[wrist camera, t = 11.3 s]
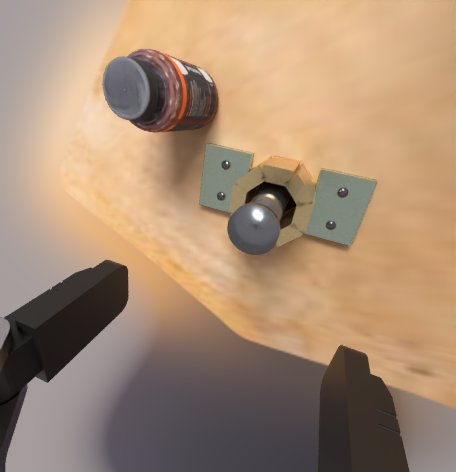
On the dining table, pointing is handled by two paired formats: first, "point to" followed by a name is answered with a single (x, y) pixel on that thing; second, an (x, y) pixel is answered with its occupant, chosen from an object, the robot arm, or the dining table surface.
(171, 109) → the supplement bottle
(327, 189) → the hinge body
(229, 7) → the dining table surface
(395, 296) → the dining table surface
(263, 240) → the steel pin
